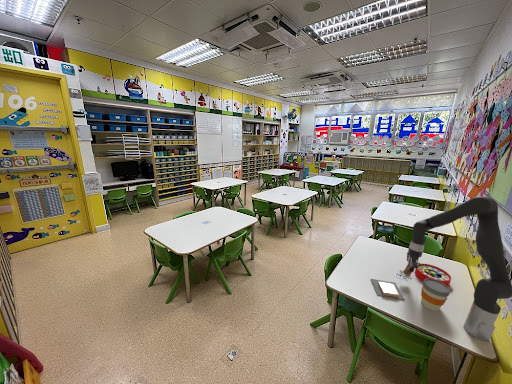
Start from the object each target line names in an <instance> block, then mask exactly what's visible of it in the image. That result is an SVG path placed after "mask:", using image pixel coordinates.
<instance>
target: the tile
mask: <svg viewBox="0 0 512 384" xmlns="http://www.w3.org/2000/svg"><path fill="white" fill-rule="evenodd" d="M378 285H379V287H380V289H381V291H382V293H383V295H388V296H394V297H399V294H398V292H397V290H396V288H395V286H394V285H393V284H389V283H383V282H379V283H378Z"/></svg>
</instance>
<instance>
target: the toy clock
mask: <svg viewBox="0 0 512 384" xmlns="http://www.w3.org/2000/svg"><path fill="white" fill-rule="evenodd" d="M414 275H415V276H416V277H417V279H419V281H421V282H422V283H423V282H424V280H425V279H428V278H429V279H434V280H437V281H440V282H442V283H444V284H445V285H446V286H448V287H449V286H450V284H451V281H452V276H451V274H450V273H448V272H447V271H446V270H444V269H442V268H440V267H439V266H436V265H432V264H429V263H420V266H419V267H418V268H417V269H416V268H414Z"/></svg>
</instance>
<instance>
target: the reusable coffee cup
mask: <svg viewBox="0 0 512 384" xmlns="http://www.w3.org/2000/svg"><path fill="white" fill-rule="evenodd" d="M421 285H422V287H421V293H420V296H421V298H420V299H421V300H420V301H421V302H420V303H421V304H422V306H424V307H425V308H427V309H429V311H433V312H439V310H440V309H441V307H442V306H444V304H445V303H446V301H447V300H448V297H449V296H450V293H451V290H450V287H449V286H446V285H445V284H444V283H442V282H440V281H437V280H434V279H429V278H428V279H425V280H424V282H423V281H422V284H421Z"/></svg>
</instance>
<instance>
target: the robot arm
mask: <svg viewBox="0 0 512 384" xmlns="http://www.w3.org/2000/svg"><path fill="white" fill-rule="evenodd" d="M473 215H477V221H478V222H477V223H478V224H477V225H478V227H477V229H476V234H475V245H476V250H477V253H478V255H479V257H480V258H481V259H482V260H483V262H484V263H485V264H486V266H487V267H488V270H489V278H481V279H480V280H478V281H477V283H476V286H475V289H474V291H473V301H472V304H471V307H470V309H469V311H468V314H467V317H466V319H465V322H464V323H463V329H464V330H465V331H466V332H467V333H468V334H469V335H471V336H472V337H473V338H474V339H477V340H480V341H481V340H482V341H487V342H490V340H491V339H492V336H493V334H494V331H495V329H496V326H495V323H496V322H497V319H498V317H499V315H500V313H501V310H502V309H501V306H500V304H499V303H498V300H503V299H504V300H505V299H511V298H512V281H511V278H510V275H509V272H508V267H507V262H506V258H505V250H504V243H503V240H502V239H503V238H502V234H501V229H500V226H499V205H498V202H497V201H496V200H495V199H494V198H492V197H488V196H475V197H472V198H470V199H469V200H467V201H465V202H463V203H462V204H459V205H457V206H455V207H453V208H452V209H448V210H446V211H443V212H440V213H438V214H435V215H433V216H430V217H428V218H425V219H422V220H419V221H416V222H415V223H414V224H413V226H412V238H411V241H410V244H409V246H408V251H407V252H406V261H407V264H408V263H409V262H410V261H411V262H410V263H411V267H410V272H412V273H415V269H417V268H418V267H419V266H420V264H421V263H420V262H419V258H421V257H422V256H423V252H424V249H425V243H426V240H427V237H426V232H428V231H431V230H433V229H436V228H441V227H444V226H446V225H449V224H451V223H454V222H455V221H457V220H459V219H462V218H465V217H469V216H473ZM412 262H413V263H412ZM413 264H414V265H413Z"/></svg>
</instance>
